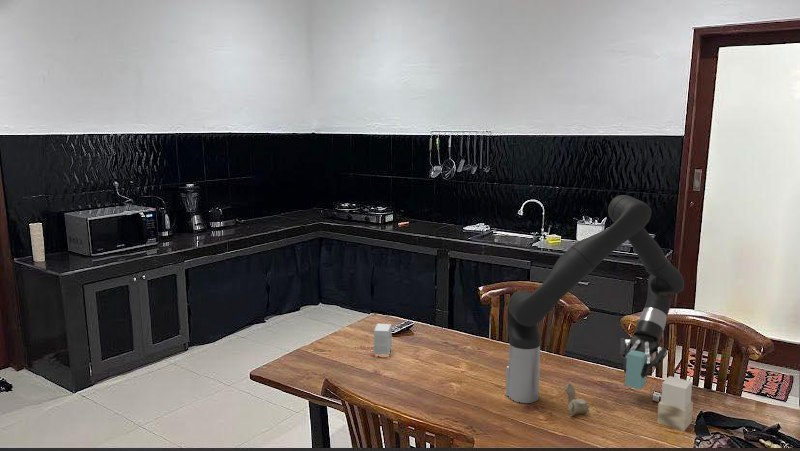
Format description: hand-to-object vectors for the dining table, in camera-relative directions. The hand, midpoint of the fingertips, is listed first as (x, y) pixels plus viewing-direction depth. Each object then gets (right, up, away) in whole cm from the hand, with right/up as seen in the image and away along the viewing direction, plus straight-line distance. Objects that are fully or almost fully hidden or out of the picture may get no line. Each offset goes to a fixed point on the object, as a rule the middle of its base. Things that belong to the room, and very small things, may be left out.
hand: (633, 373), depth 169 cm
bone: (-19, -11, -4) cm, 22 cm away
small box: (-77, -4, +43) cm, 88 cm away
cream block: (+7, -5, -11) cm, 14 cm away
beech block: (+7, -11, -10) cm, 17 cm away
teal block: (+1, -4, +2) cm, 5 cm away
